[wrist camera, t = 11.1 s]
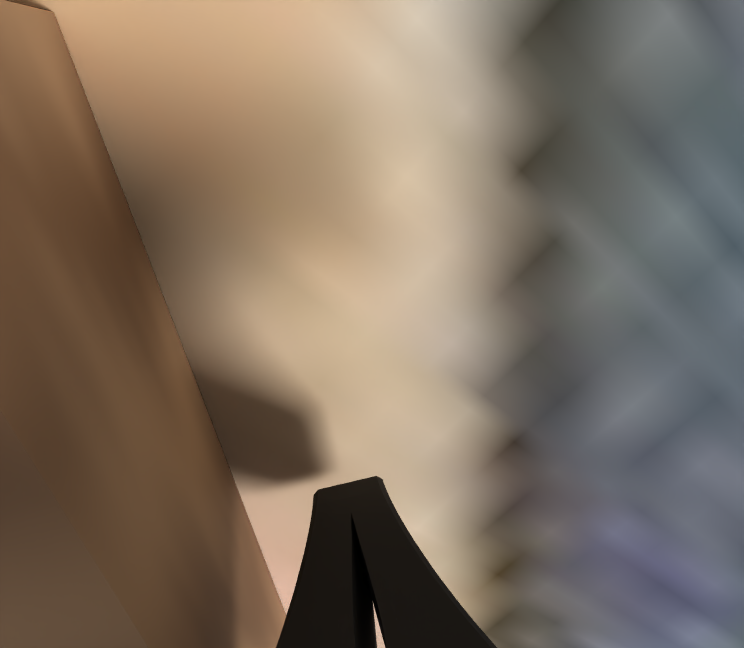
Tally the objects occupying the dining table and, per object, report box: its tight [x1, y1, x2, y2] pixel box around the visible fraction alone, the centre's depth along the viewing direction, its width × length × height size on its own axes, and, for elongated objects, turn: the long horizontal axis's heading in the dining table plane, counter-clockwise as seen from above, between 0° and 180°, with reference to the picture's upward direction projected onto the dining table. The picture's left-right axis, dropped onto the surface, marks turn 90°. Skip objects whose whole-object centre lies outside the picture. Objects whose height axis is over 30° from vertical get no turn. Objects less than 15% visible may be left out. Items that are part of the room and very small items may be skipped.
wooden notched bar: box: [0, 0, 286, 648], centre depth 9 cm, size 19×5×5 cm, turn 9°
